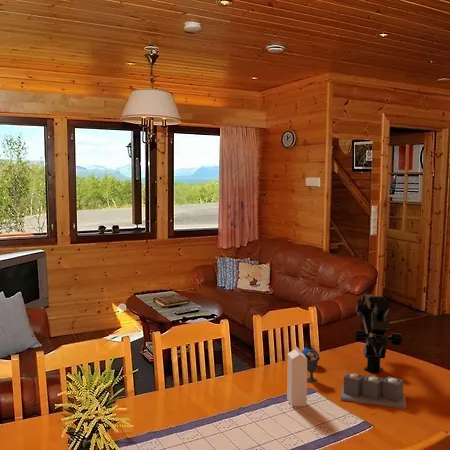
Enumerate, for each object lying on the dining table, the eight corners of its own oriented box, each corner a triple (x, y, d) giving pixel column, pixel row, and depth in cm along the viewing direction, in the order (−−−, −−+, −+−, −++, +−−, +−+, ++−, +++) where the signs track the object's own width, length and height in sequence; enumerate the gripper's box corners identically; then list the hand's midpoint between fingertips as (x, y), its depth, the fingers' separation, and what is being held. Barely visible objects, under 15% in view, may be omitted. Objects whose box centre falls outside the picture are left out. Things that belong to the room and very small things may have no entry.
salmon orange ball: (351, 382, 194) (352, 372, 194) (360, 384, 192) (360, 375, 192) (347, 385, 192) (347, 375, 191) (356, 387, 189) (356, 377, 189)
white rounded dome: (389, 386, 190) (389, 377, 190) (399, 389, 188) (399, 379, 187) (386, 389, 187) (386, 380, 187) (395, 392, 185) (395, 382, 184)
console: (342, 388, 199) (343, 369, 198) (404, 396, 191) (405, 376, 191) (340, 400, 188) (341, 380, 187) (405, 408, 181) (406, 388, 180)
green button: (370, 385, 191) (370, 375, 191) (379, 387, 189) (379, 378, 189) (366, 388, 188) (366, 378, 188) (375, 391, 186) (376, 381, 186)
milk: (301, 399, 189) (302, 344, 187) (306, 406, 183) (307, 350, 181) (286, 400, 188) (287, 345, 186) (291, 407, 182) (292, 350, 180)
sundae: (318, 377, 209) (319, 344, 208) (319, 384, 203) (320, 349, 201) (303, 376, 210) (303, 343, 208) (304, 383, 203) (304, 349, 202)
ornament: (319, 363, 226) (320, 342, 225) (317, 370, 217) (317, 348, 216) (301, 361, 228) (301, 340, 227) (298, 367, 220) (298, 346, 219)
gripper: (355, 311, 204) (353, 344, 194) (402, 314, 198) (403, 349, 189) (356, 323, 212) (354, 356, 203) (401, 327, 206) (401, 361, 197)
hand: (377, 356), depth 198 cm, fingers closed
